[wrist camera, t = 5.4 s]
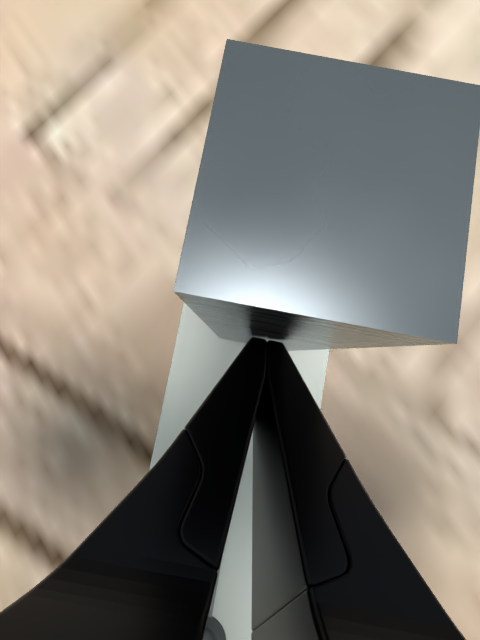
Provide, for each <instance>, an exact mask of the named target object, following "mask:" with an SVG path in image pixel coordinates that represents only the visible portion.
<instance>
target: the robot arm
mask: <svg viewBox="0 0 480 640" xmlns="http://www.w3.org/2000/svg"><path fill="white" fill-rule="evenodd" d="M252 432H253V489H252V631H253V632H252V633H251V640H466V639H465V637H464V636H463V635H462V634H461V632H460V631H459V630H458V628H457V627H456V626H455V624H454V623H453V622H452V620H451V619H450V617H449V616H448V614H447V613H446V612H445V610H444V609H443V607H442V606H441V604H440V603H439V601H438V600H437V598H436V597H435V595H434V594H433V592H432V591H431V589H430V588H429V586H428V585H427V584H426V582H425V581H424V579H423V578H422V576H421V575H420V573H419V572H418V570H417V569H416V567H415V566H414V564H413V563H412V561H411V560H410V558H409V557H408V555H407V554H406V552H405V551H404V549H403V548H402V547H401V545H400V544H399V542H398V541H397V539H396V538H395V536H394V535H393V533H392V532H391V530H390V529H389V527H388V526H387V524H386V522H385V521H384V519H383V518H382V516H381V515H380V513H379V512H378V510H377V509H376V507H375V505H374V504H373V502H372V501H371V499H370V497H369V496H368V494H367V492H366V490H365V489H364V487H363V485H362V484H361V482H360V480H359V479H358V477H357V475H356V473H355V471H354V470H353V468H352V466H351V464H350V462H349V461H348V460H347V459H345V458H346V455H345V454H344V452H343V450H342V448H341V446H340V445H339V443H338V441H337V439H336V437H335V436H334V434H333V432H332V430H331V428H330V427H329V425H328V423H327V421H326V419H325V418H324V416H323V414H322V412H321V410H320V409H319V407H318V405H317V403H316V401H315V400H314V398H313V396H312V394H311V392H310V391H309V389H308V387H307V385H306V383H305V382H304V380H303V378H302V376H301V374H300V373H299V371H298V369H297V367H296V365H295V364H294V362H293V360H292V358H291V356H290V355H289V353H288V351H287V349H286V347H285V345H284V344H283V343H282V342H278V341H273V340H268V341H266V340H265V339H262V338H257V337H251V338H250V339H249V341H248V342H247V343H246V345H245V346H244V347H243V349H242V350H241V351H240V353H239V354H238V356H237V357H236V358H235V360H234V361H233V362H232V364H231V365H230V366H229V368H228V369H227V370H226V372H225V373H224V374H223V376H222V377H221V378H220V380H219V381H218V383H217V384H216V385H215V387H214V388H213V389H212V391H211V392H210V393H209V395H208V396H207V397H206V399H205V400H204V401H203V403H202V404H201V405H200V407H199V408H198V410H197V411H196V412H195V414H194V415H193V416H192V418H191V419H190V420H189V422H188V423H187V424H186V426H185V429H183V430H182V431H181V432H180V433H179V435H178V436H177V438H176V439H175V440H174V442H173V443H172V444H171V445H170V447H169V448H168V449H167V450H166V452H165V453H164V454H163V455H162V457H161V458H160V459H159V461H158V462H157V463H156V464H155V465H154V466H153V468H152V469H151V470H150V471H149V472H148V473H147V474H146V475H145V476H144V478H143V479H142V480H141V481H140V482H139V483H138V484H137V485H136V486H135V488H134V489H133V490H132V491H131V492H130V493H129V494H128V495H127V496H126V497H125V498H124V499H123V500H122V501H121V502H120V503H119V504H118V505H117V507H116V508H115V509H114V510H113V511H112V512H111V513H110V514H109V515H108V516H107V517H106V518H105V519H104V520H103V521H102V522H101V523H100V524H99V526H98V527H97V528H96V529H95V530H94V531H93V532H92V533H91V534H90V535H89V536H88V537H87V538H86V539H85V540H84V541H83V542H82V544H81V545H80V546H79V547H78V548H77V549H76V550H75V551H74V552H73V553H72V554H71V555H70V556H69V557H68V558H67V559H66V560H64V561H63V562H62V563H61V564H60V565H59V566H58V567H57V568H56V569H55V570H54V571H53V572H51V573H50V574H49V575H48V576H47V577H46V578H45V579H44V580H42V581H41V582H40V583H39V584H37V585H36V586H35V587H34V588H33V589H31V590H30V591H29V592H27V593H26V594H25V595H23V596H22V597H21V598H19V599H18V600H16V601H15V602H14V603H12V604H11V605H10V606H8V607H7V608H6V609H4V610H3V611H1V612H0V640H203V637H204V633H205V628H206V624H207V619H208V615H209V611H210V606H211V602H212V598H213V593H214V589H215V585H216V581H217V577H218V571H219V568H220V564H221V560H222V556H223V552H224V548H225V543H226V539H227V535H228V531H229V527H230V523H231V519H232V514H233V510H234V506H235V502H236V498H237V494H238V490H239V485H240V481H241V477H242V473H243V469H244V465H245V461H246V456H247V452H248V448H249V444H250V440H251V436H252Z"/></svg>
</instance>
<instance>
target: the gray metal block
mask: <svg viewBox="0 0 480 640" xmlns="http://www.w3.org/2000/svg"><path fill="white" fill-rule="evenodd" d="M479 128H480V85H475V84H470V83H465V82H459V81H454V80H448V79H443V78H437V77H432V76H426V75H421V74H415V73H410V72H404V71H399V70H393V69H388V68H382V67H377V66H371V65H366V64H360V63H355V62H350V61H344V60H339V59H333V58H328V57H322V56H317V55H311V54H306V53H300V52H295V51H289V50H284V49H278V48H273V47H267V46H262V45H256V44H251V43H246V42H240V41H235V40H229V39H227V41H226V46H225V50H224V55H223V60H222V64H221V69H220V74H219V79H218V83H217V88H216V93H215V97H214V102H213V107H212V112H211V116H210V121H209V126H208V131H207V135H206V140H205V145H204V149H203V154H202V159H201V164H200V168H199V173H198V178H197V182H196V187H195V192H194V197H193V201H192V206H191V211H190V215H189V220H188V225H187V230H186V234H185V239H184V244H183V248H182V253H181V258H180V263H179V267H178V272H177V277H176V281H175V286H174V292H175V293H176V294H177V295H178V296H179V297H180V298H181V299H182V300H183V302H184V303H185V304H186V305H187V306H188V307H189V308H190V309H191V310H192V311H193V312H194V313H195V314H196V315H197V316H198V317H199V318H200V319H201V320H202V321H203V322H204V323H205V324H206V325H207V326H208V327H209V328H210V329H211V330H212V331H213V332H214V333H215V334H216V335H217V336H218V337H219V338H221V339H227V340H232V341H238V342H243V343H247V342H248V341H249V339H250V338H251V337H257V338H262V339H265V340H266V341H268V340H273V341H278V342H282V343H283V344H284V345H285V347H286V349H287V351H298V350H322V349H345V348H368V347H392V346H415V345H439V344H457V338H458V328H459V318H460V309H461V299H462V290H463V280H464V271H465V261H466V252H467V242H468V233H469V223H470V214H471V204H472V194H473V185H474V175H475V166H476V156H477V147H478V137H479Z"/></svg>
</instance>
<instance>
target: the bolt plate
mask: <svg viewBox="0 0 480 640" xmlns="http://www.w3.org/2000/svg"><path fill="white" fill-rule="evenodd" d="M245 345H246V343H243V342H238V341H232V340H227V339H221V338H219V337H218V336H217V335H216V334H215V333H214V332H213V331H212V330H211V329H210V328H209V327H208V326H207V325H206V324H205V323H204V322H203V321H202V320H201V319H200V318H199V317H198V316H197V315H196V314H195V313H194V312H193V311H192V310H191V309H190V308H189V307H188V306H187V305H186V304H185V303H184V304H183V309H182V314H181V319H180V324H179V329H178V333H177V338H176V343H175V348H174V353H173V358H172V362H171V367H170V372H169V377H168V382H167V386H166V391H165V396H164V401H163V406H162V411H161V415H160V420H159V425H158V430H157V435H156V440H155V444H154V449H153V454H152V459H151V464H150V469H149V471H150V470H151V469H152V468H153V466H154V465H155V464H156V463H157V462H158V461H159V459H160V458H161V457H162V455H163V454H164V453H165V452H166V450H167V449H168V448H169V447H170V445H171V444H172V443H173V442H174V440H175V439H176V438H177V436H178V435H179V433H180V432H181V431H182V430H183V429H185V426H186V424H187V423H188V422H189V420H190V419H191V418H192V416H193V415H194V414H195V412H196V411H197V410H198V408H199V407H200V405H201V404H202V403H203V401H204V400H205V399H206V397H207V396H208V395H209V393H210V392H211V391H212V389H213V388H214V387H215V385H216V384H217V383H218V381H219V380H220V378H221V377H222V376H223V374H224V373H225V372H226V370H227V369H228V368H229V366H230V365H231V364H232V362H233V361H234V360H235V358H236V357H237V356H238V354H239V353H240V351H241V350H242V349H243V347H244V346H245ZM288 353H289V355H290V356H291V358H292V360H293V362H294V364H295V365H296V367H297V369H298V371H299V373H300V374H301V376H302V378H303V380H304V382H305V383H306V385H307V387H308V389H309V391H310V392H311V394H312V396H313V398H314V400H315V401H316V403H317V405H318V407H319V409H320V408H321V401H322V395H323V388H324V381H325V375H326V368H327V362H328V355H329V349H322V350H298V351H288ZM252 489H253V432H252V436H251V440H250V444H249V448H248V452H247V456H246V461H245V465H244V469H243V473H242V477H241V481H240V485H239V490H238V494H237V498H236V502H235V506H234V510H233V514H232V519H231V523H230V527H229V531H228V535H227V539H226V543H225V548H224V552H223V556H222V560H221V564H220V568H219V571H218V577H217V581H216V585H215V589H214V593H213V598H212V602H211V606H210V611H209V615H208V619H207V624H206V628H205V633H204V637H203V640H251V633H252V632H253V631H252Z"/></svg>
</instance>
